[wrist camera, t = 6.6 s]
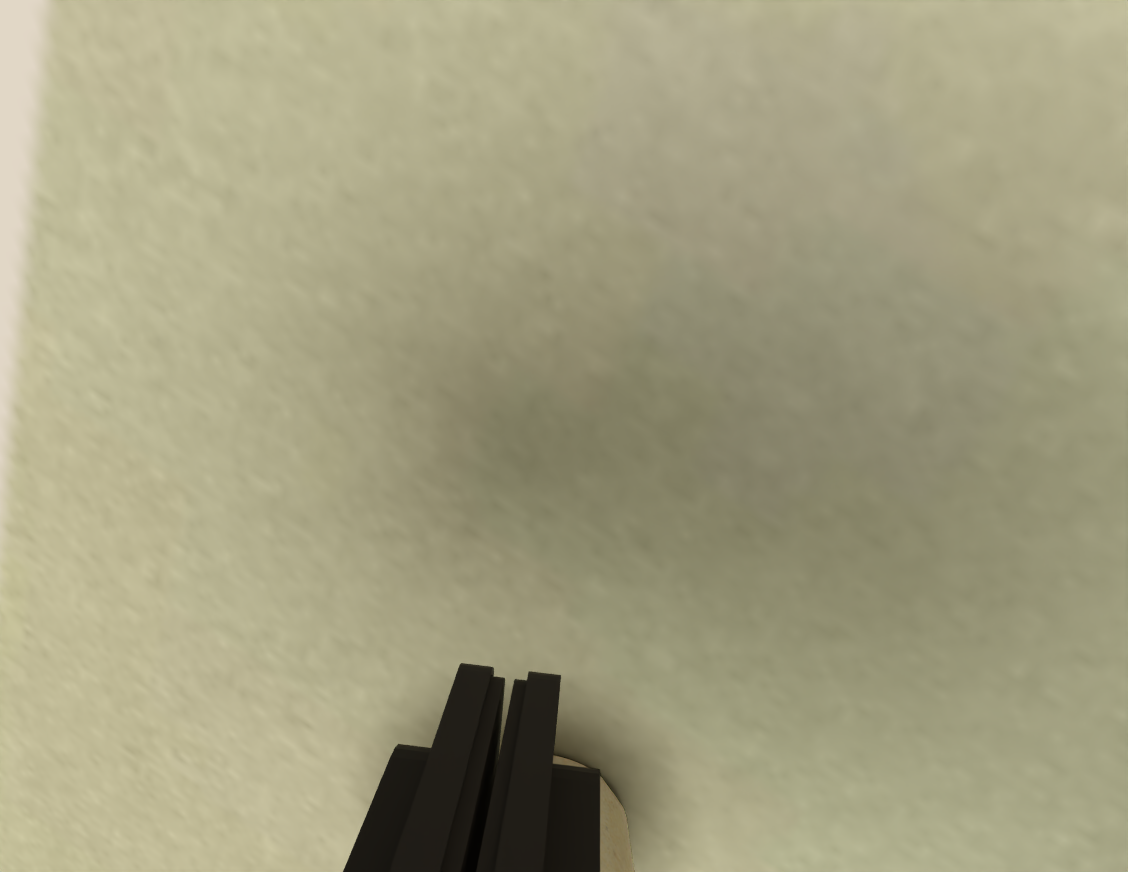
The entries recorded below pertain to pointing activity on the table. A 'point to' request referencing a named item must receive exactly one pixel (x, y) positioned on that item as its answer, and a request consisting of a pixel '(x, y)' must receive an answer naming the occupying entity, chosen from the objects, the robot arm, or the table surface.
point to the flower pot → (610, 828)
